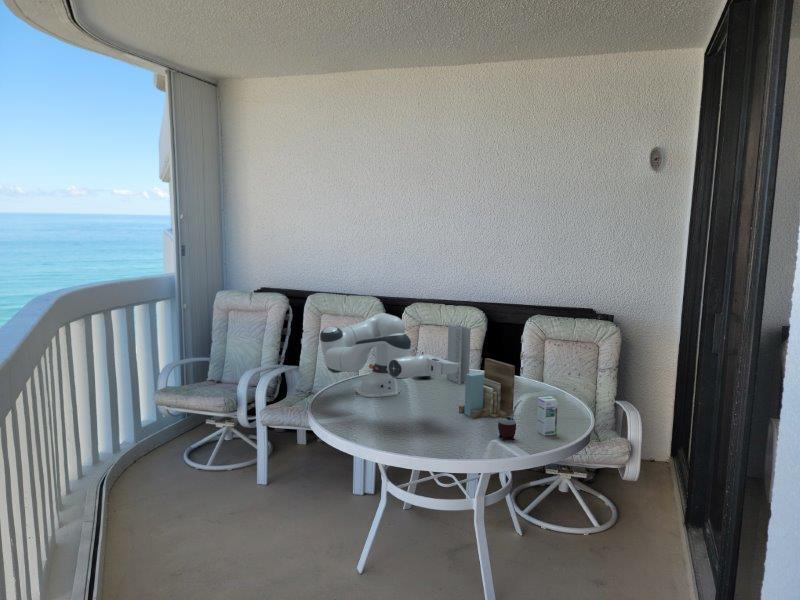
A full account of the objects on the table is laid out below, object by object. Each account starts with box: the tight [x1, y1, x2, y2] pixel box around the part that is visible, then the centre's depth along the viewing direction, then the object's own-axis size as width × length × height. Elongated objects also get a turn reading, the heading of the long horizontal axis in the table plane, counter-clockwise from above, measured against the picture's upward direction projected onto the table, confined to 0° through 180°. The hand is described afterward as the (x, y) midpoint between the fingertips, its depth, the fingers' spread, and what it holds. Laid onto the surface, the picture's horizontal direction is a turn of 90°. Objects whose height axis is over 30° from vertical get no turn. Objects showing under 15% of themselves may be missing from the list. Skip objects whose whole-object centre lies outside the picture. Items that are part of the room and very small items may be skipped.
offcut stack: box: [483, 378, 501, 414], centre depth 259 cm, size 5×13×13 cm, turn 31°
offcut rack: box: [458, 357, 516, 419], centre depth 257 cm, size 19×18×22 cm
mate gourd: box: [497, 399, 522, 441], centre depth 224 cm, size 8×8×15 cm
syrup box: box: [536, 396, 559, 437], centre depth 231 cm, size 6×6×14 cm
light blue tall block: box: [463, 372, 484, 417], centre depth 254 cm, size 7×4×18 cm, turn 122°
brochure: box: [446, 324, 472, 385], centre depth 312 cm, size 14×6×30 cm, turn 25°
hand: (452, 362), depth 246 cm, fingers open, 8 cm apart
